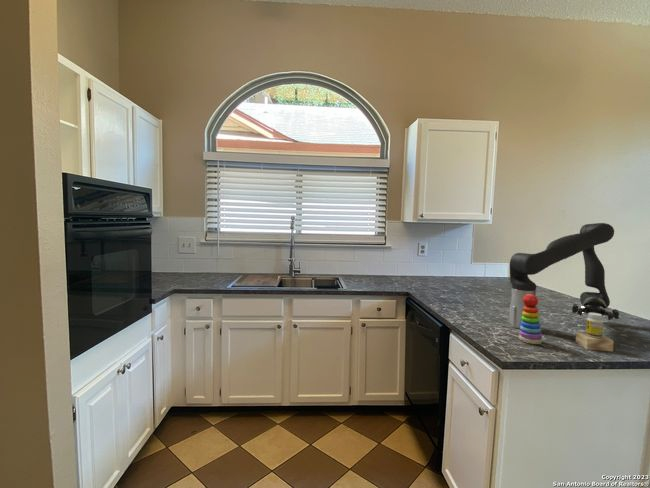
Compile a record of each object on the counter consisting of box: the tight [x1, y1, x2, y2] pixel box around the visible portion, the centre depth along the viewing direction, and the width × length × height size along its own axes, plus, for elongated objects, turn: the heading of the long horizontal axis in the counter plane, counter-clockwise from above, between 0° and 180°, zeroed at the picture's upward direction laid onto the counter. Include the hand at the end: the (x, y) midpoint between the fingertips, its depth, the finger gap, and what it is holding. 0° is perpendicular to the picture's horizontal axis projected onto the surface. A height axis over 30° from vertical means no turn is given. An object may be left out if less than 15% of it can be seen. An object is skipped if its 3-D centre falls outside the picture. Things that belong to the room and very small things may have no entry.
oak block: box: [575, 331, 615, 352], centre depth 118 cm, size 8×8×4 cm
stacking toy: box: [518, 294, 544, 345], centre depth 123 cm, size 8×8×19 cm
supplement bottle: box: [585, 313, 604, 338], centre depth 117 cm, size 5×5×8 cm
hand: (594, 315), depth 122 cm, fingers open, 8 cm apart
